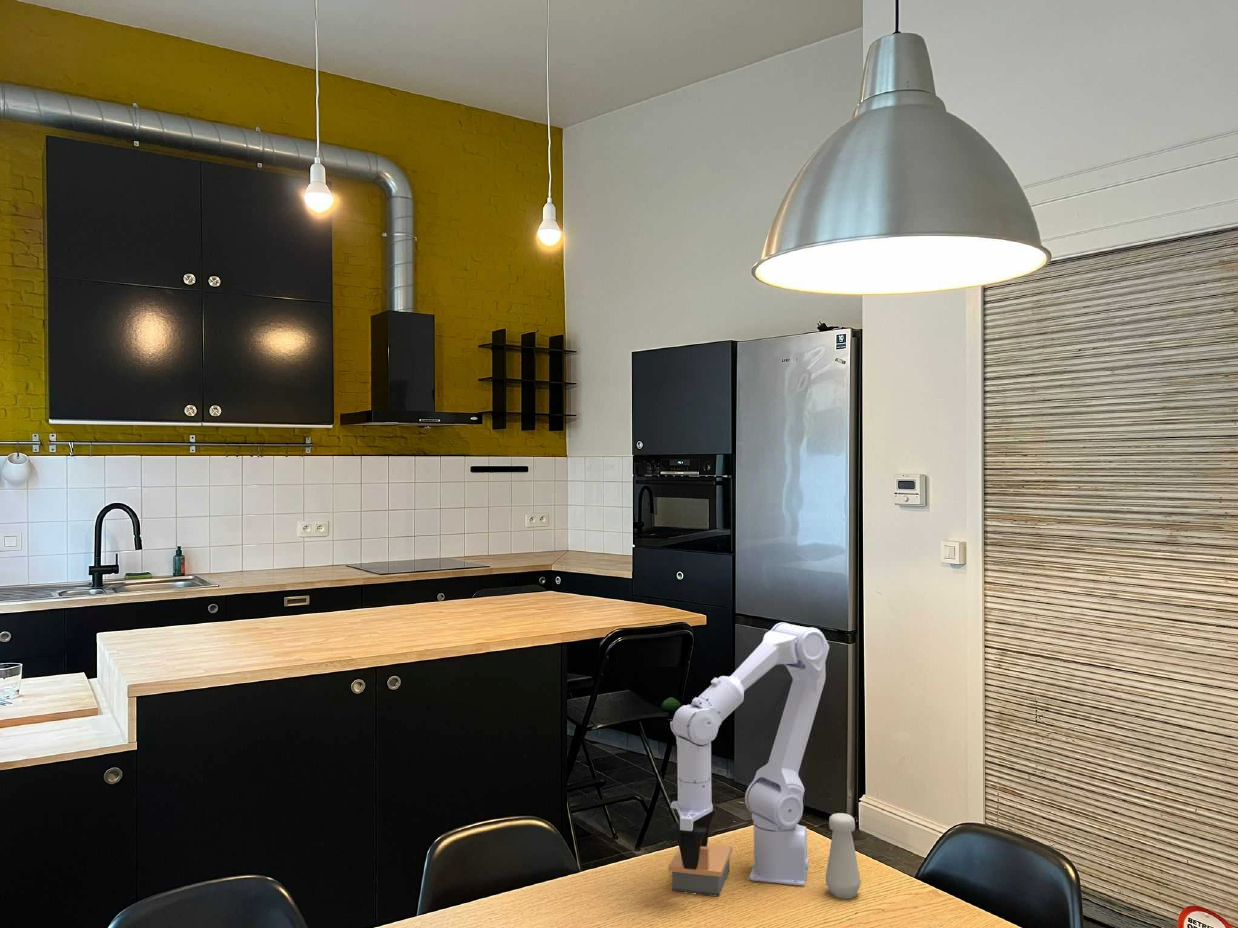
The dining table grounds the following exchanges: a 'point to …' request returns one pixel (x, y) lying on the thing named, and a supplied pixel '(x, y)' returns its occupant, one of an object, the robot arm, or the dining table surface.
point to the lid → (705, 861)
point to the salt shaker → (842, 858)
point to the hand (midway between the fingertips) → (695, 859)
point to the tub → (699, 882)
